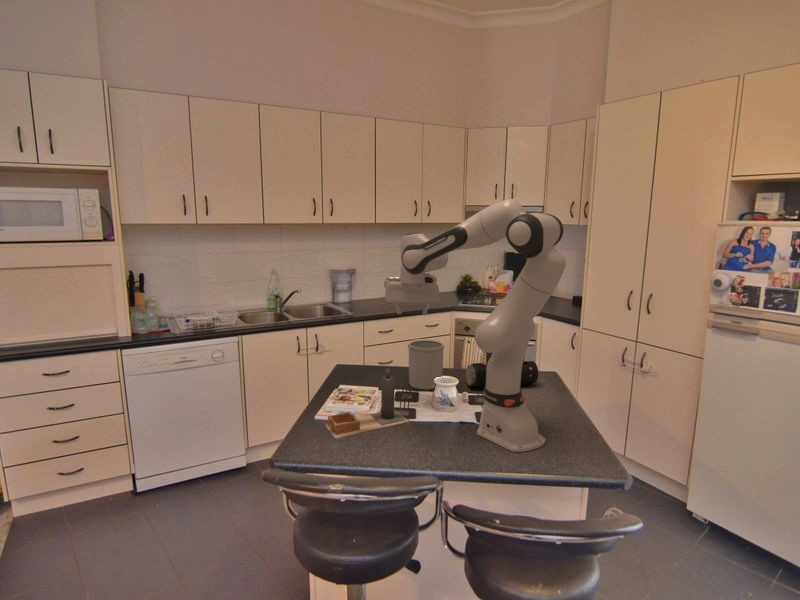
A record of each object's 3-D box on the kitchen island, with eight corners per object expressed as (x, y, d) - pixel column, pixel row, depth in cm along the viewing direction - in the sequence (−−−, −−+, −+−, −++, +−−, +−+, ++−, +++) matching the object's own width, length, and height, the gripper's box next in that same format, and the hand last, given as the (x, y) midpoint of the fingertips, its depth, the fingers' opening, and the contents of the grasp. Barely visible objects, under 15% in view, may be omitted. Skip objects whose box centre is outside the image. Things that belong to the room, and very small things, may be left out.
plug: (396, 417, 160) (396, 370, 156) (384, 420, 158) (384, 372, 154) (390, 412, 163) (390, 366, 160) (379, 415, 161) (379, 368, 158)
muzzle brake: (537, 388, 191) (539, 364, 189) (471, 392, 187) (472, 368, 185) (527, 380, 200) (529, 357, 198) (464, 384, 196) (465, 360, 194)
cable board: (408, 425, 158) (409, 413, 157) (335, 443, 146) (335, 429, 145) (394, 413, 168) (394, 401, 167) (324, 428, 156) (323, 415, 155)
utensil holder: (408, 376, 203) (408, 337, 200) (443, 377, 202) (444, 338, 199) (406, 389, 189) (406, 347, 186) (443, 391, 188) (444, 348, 184)
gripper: (383, 278, 169) (383, 315, 172) (440, 279, 168) (439, 316, 171) (384, 275, 175) (384, 312, 178) (439, 276, 174) (438, 312, 177)
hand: (412, 314), depth 174 cm, fingers open, 8 cm apart
